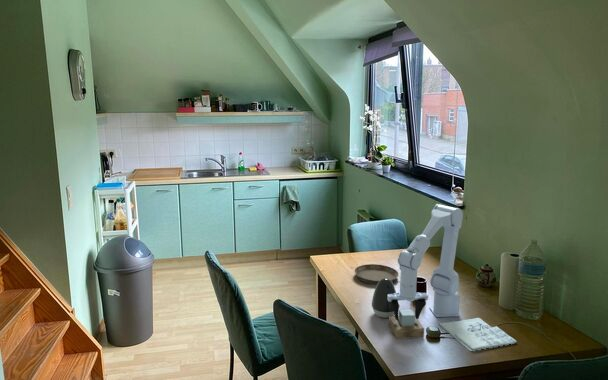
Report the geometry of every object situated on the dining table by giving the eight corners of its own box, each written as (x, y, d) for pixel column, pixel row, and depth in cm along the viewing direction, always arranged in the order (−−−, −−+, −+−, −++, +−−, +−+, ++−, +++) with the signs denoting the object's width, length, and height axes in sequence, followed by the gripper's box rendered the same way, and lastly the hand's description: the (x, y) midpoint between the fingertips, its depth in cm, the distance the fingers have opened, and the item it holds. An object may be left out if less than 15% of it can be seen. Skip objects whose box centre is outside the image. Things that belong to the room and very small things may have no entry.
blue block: (410, 321, 170) (411, 309, 169) (414, 327, 166) (414, 315, 165) (398, 322, 170) (399, 309, 169) (401, 328, 165) (402, 315, 164)
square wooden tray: (414, 323, 174) (415, 315, 173) (423, 337, 164) (424, 328, 163) (389, 324, 173) (389, 316, 172) (396, 338, 163) (396, 329, 162)
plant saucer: (396, 270, 226) (396, 264, 226) (400, 288, 206) (400, 281, 206) (354, 269, 228) (354, 263, 228) (354, 286, 208) (354, 279, 208)
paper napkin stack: (470, 353, 155) (471, 348, 154) (437, 325, 174) (438, 320, 173) (517, 345, 160) (518, 339, 159) (480, 318, 179) (480, 313, 178)
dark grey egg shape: (378, 322, 174) (379, 285, 171) (367, 310, 184) (368, 275, 181) (402, 319, 177) (404, 282, 174) (390, 307, 187) (391, 272, 184)
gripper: (391, 288, 160) (390, 324, 163) (431, 287, 161) (429, 322, 164) (386, 280, 167) (385, 314, 170) (425, 279, 168) (423, 313, 171)
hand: (406, 318), depth 167 cm, fingers open, 7 cm apart
